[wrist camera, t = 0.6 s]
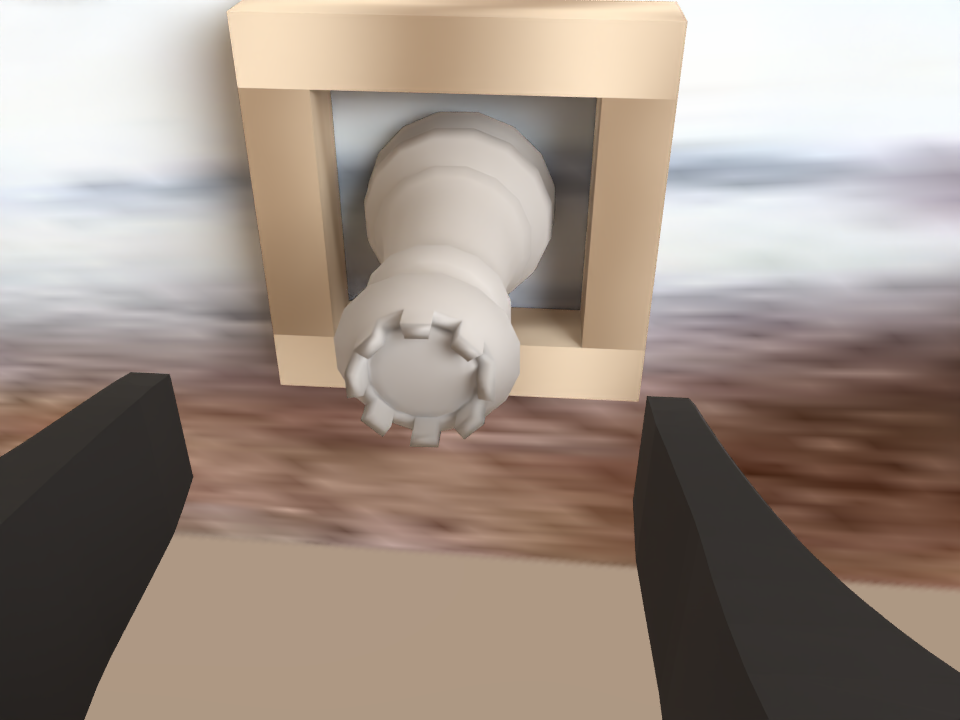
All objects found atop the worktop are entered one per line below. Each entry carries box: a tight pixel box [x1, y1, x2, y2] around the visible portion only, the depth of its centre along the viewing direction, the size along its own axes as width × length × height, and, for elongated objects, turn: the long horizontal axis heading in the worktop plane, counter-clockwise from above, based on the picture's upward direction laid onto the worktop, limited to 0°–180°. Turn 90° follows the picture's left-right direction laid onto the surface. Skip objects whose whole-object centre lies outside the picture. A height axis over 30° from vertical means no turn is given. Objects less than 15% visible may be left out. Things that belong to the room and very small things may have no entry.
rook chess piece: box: [334, 112, 555, 447], centre depth 18 cm, size 4×4×8 cm
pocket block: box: [227, 0, 687, 402], centre depth 20 cm, size 9×9×2 cm
